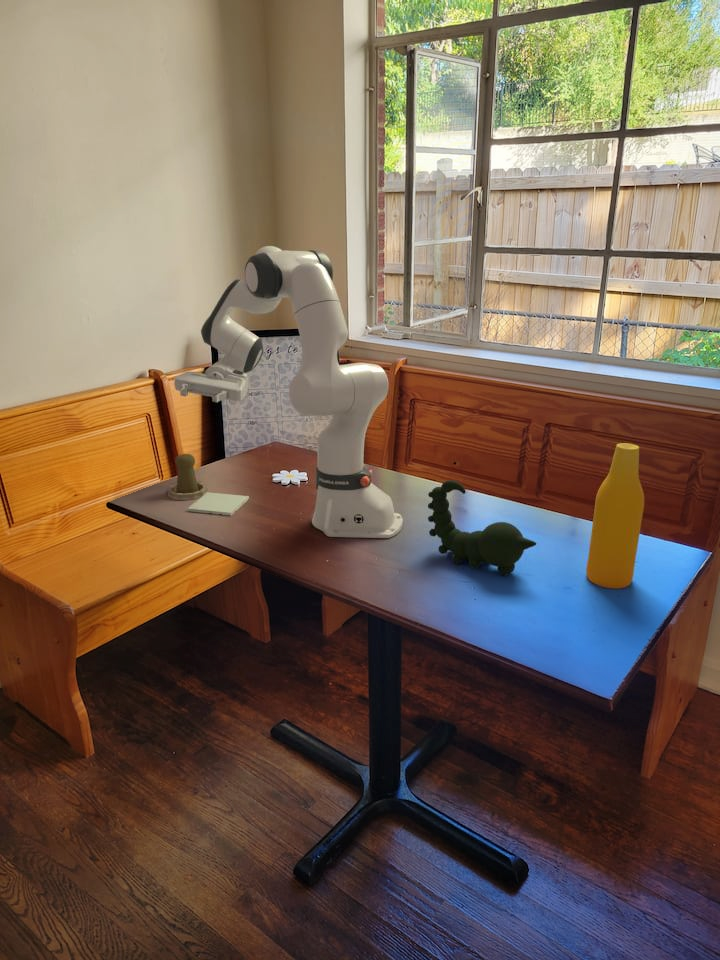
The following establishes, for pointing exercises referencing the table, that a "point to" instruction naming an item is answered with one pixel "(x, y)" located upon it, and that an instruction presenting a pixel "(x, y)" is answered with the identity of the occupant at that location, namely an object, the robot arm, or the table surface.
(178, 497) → the ring
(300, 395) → the robot arm
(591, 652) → the table surface
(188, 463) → the cork
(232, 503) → the ceramic tile
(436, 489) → the toy figurine
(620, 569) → the beer bottle
